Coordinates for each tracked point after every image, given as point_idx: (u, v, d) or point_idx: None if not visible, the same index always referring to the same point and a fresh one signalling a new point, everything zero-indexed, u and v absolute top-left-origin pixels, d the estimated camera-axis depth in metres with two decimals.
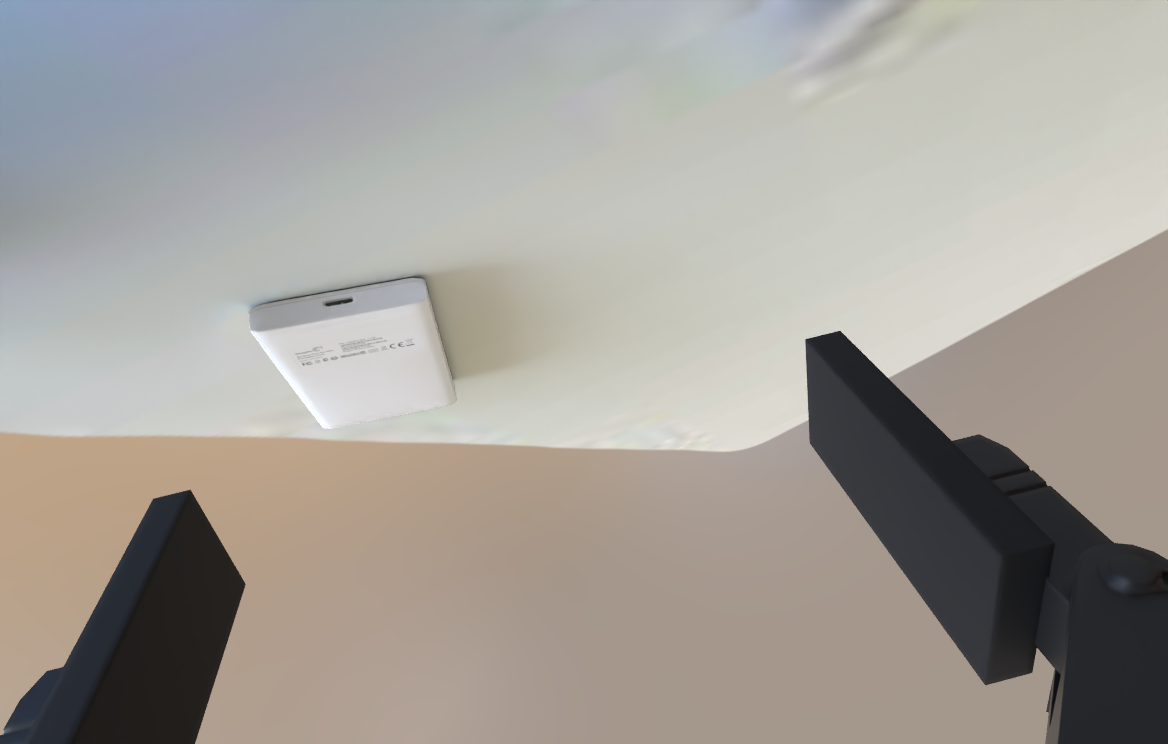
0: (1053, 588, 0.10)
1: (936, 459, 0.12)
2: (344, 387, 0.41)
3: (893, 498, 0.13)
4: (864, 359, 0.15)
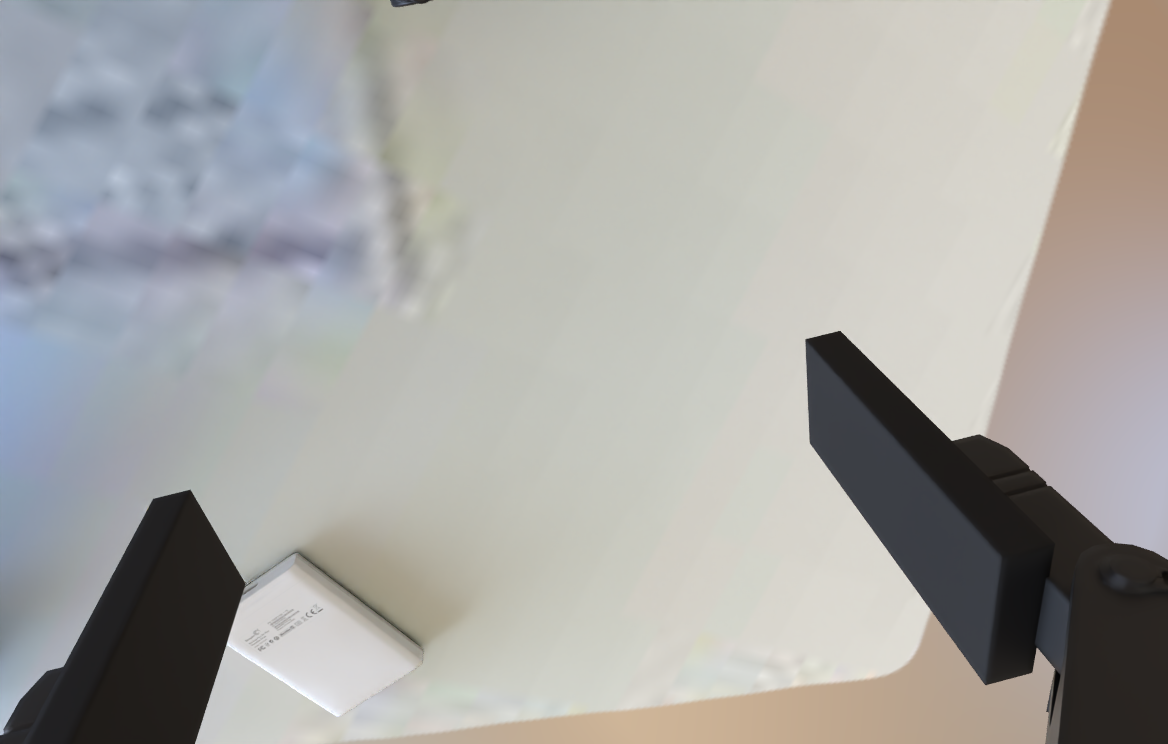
0: (1054, 588, 0.10)
1: (936, 459, 0.12)
2: (310, 666, 0.53)
3: (893, 497, 0.13)
4: (864, 359, 0.15)
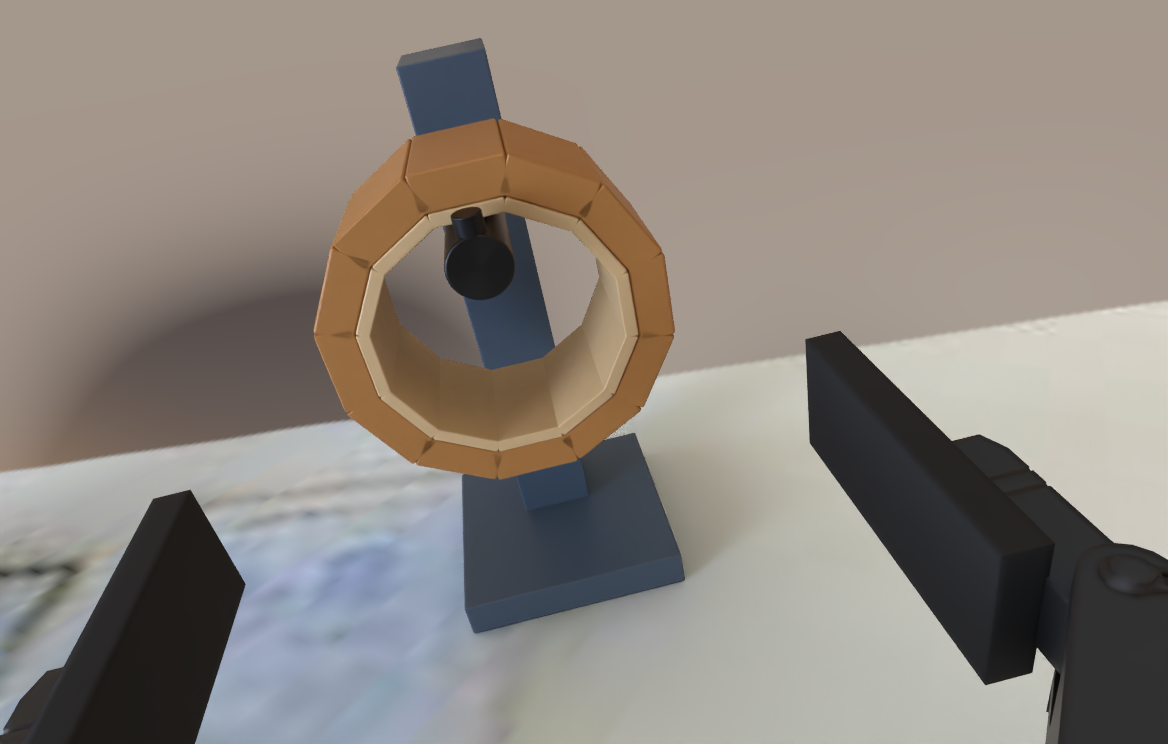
0: (1053, 588, 0.10)
1: (936, 459, 0.12)
2: None
3: (893, 498, 0.13)
4: (864, 359, 0.15)
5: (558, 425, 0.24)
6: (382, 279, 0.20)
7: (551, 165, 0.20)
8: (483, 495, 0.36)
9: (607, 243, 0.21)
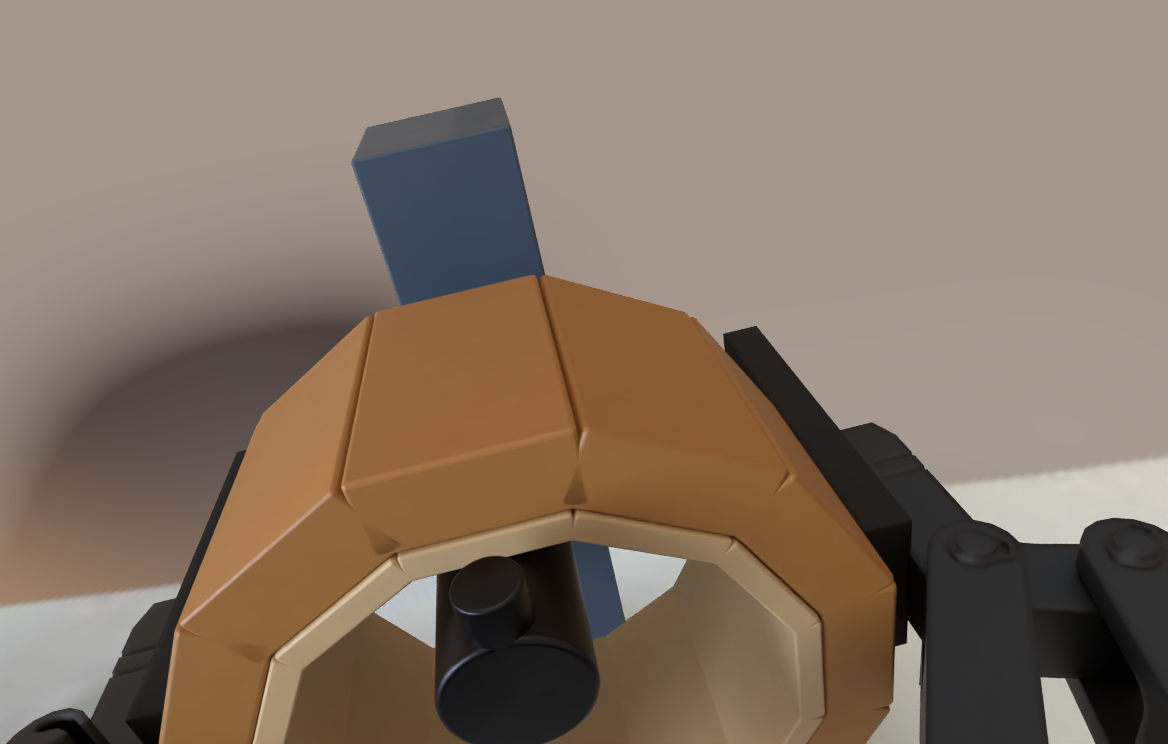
0: (912, 561, 0.11)
1: (821, 444, 0.13)
2: None
3: None
4: (773, 352, 0.16)
5: None
6: (299, 677, 0.09)
7: (681, 441, 0.09)
8: None
9: (787, 577, 0.10)
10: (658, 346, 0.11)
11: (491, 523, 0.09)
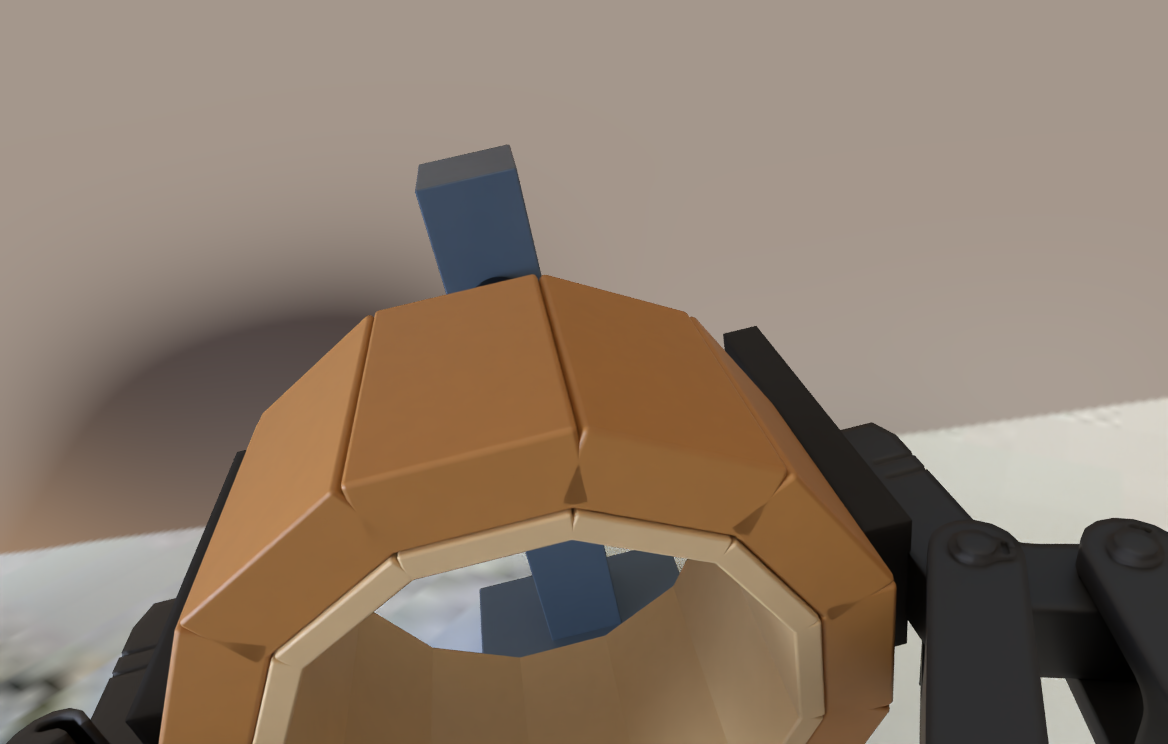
0: (913, 561, 0.11)
1: (821, 444, 0.13)
2: None
3: None
4: (773, 352, 0.16)
5: None
6: (298, 676, 0.09)
7: (680, 441, 0.09)
8: (503, 617, 0.33)
9: (786, 577, 0.10)
10: (658, 346, 0.11)
11: (491, 522, 0.09)
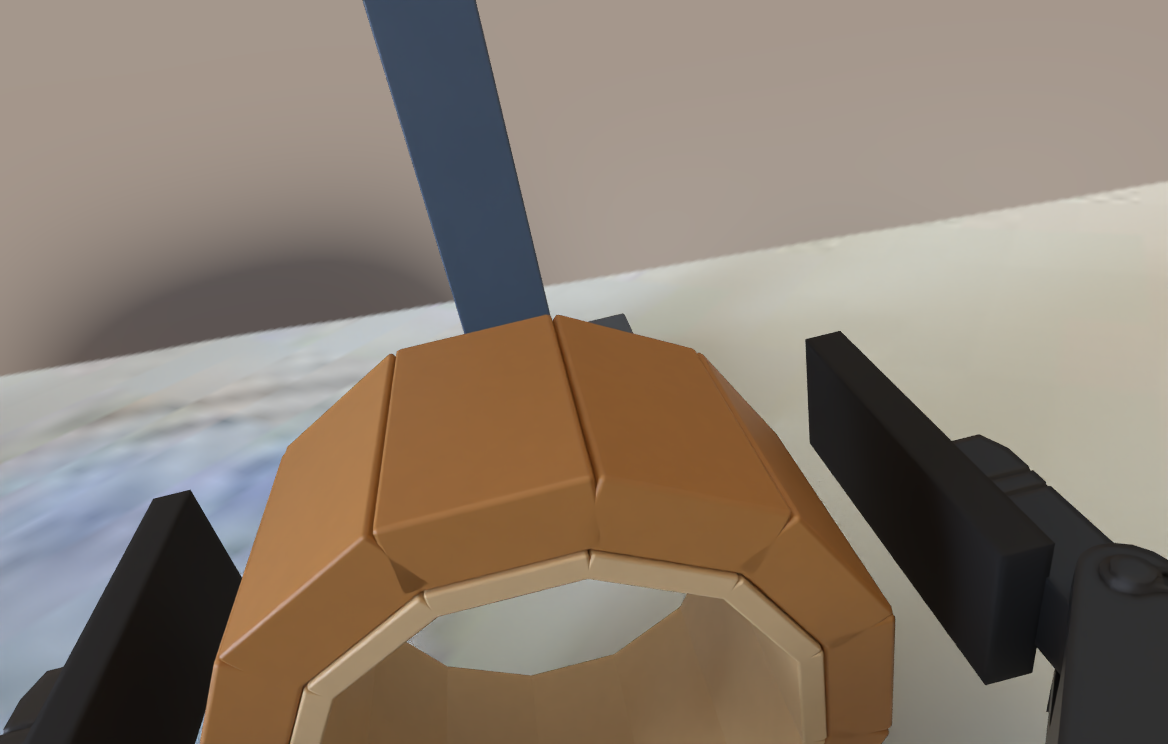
0: (1053, 588, 0.10)
1: (936, 459, 0.12)
2: None
3: (892, 498, 0.13)
4: (864, 359, 0.15)
5: None
6: (329, 706, 0.10)
7: (691, 486, 0.09)
8: None
9: (790, 610, 0.10)
10: (667, 386, 0.11)
11: (512, 563, 0.09)
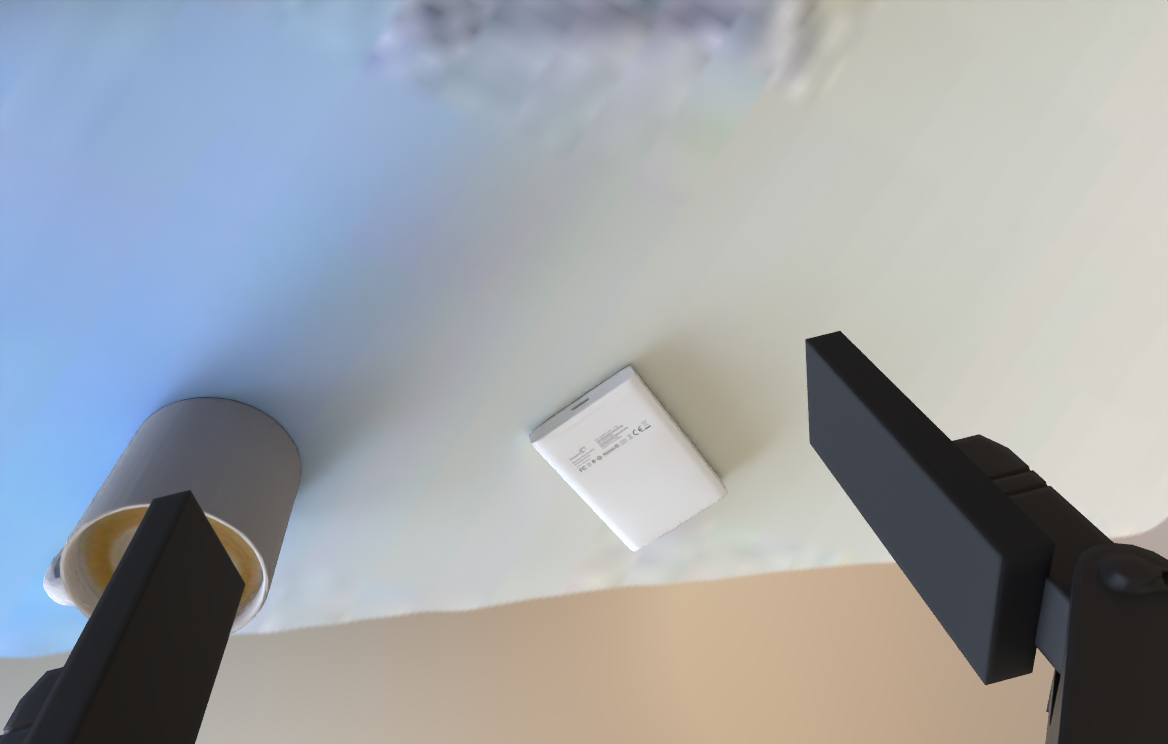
0: (1053, 587, 0.10)
1: (936, 459, 0.12)
2: (623, 491, 0.52)
3: (893, 498, 0.13)
4: (864, 359, 0.15)
5: None
6: None
7: None
8: None
9: None
10: None
11: None
